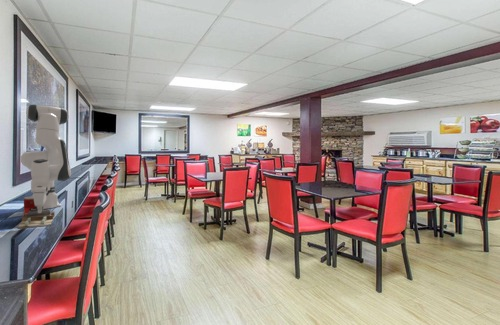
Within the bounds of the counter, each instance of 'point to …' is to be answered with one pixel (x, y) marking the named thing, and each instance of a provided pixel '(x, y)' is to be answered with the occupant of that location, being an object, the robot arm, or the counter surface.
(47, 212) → the bar
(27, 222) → the lock board
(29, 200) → the canned food
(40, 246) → the counter surface
